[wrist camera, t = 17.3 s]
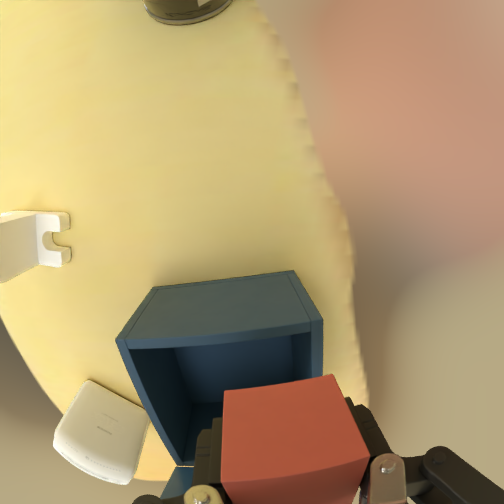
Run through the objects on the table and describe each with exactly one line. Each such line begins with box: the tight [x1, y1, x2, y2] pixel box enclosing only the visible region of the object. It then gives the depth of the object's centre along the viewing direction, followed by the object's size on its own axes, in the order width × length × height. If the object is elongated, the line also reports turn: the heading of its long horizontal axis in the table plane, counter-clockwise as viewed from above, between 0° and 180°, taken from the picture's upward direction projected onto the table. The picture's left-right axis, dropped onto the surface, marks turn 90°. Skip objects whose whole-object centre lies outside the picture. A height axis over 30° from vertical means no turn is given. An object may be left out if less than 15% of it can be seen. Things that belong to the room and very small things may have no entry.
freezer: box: [115, 270, 323, 466], centre depth 23 cm, size 16×14×10 cm
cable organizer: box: [0, 210, 71, 283], centre depth 19 cm, size 5×10×10 cm, turn 84°
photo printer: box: [53, 380, 150, 485], centre depth 23 cm, size 10×4×12 cm, turn 58°
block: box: [221, 374, 370, 504], centre depth 9 cm, size 4×4×4 cm
